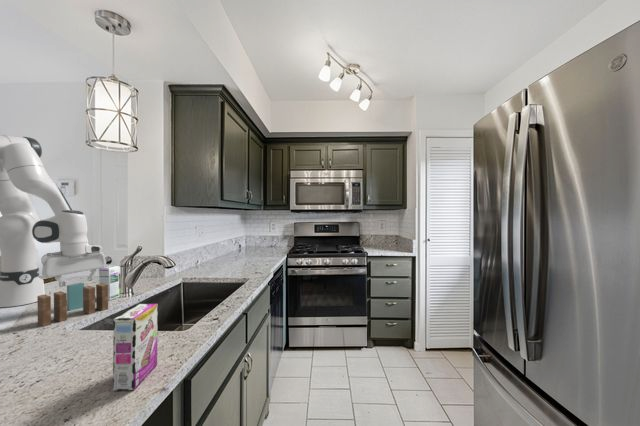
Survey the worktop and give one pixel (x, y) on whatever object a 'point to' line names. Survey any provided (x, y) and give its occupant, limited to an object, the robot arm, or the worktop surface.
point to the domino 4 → (89, 299)
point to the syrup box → (111, 280)
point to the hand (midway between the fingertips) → (76, 283)
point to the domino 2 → (60, 306)
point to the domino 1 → (44, 310)
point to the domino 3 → (75, 296)
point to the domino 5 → (102, 296)
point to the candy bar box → (134, 346)
